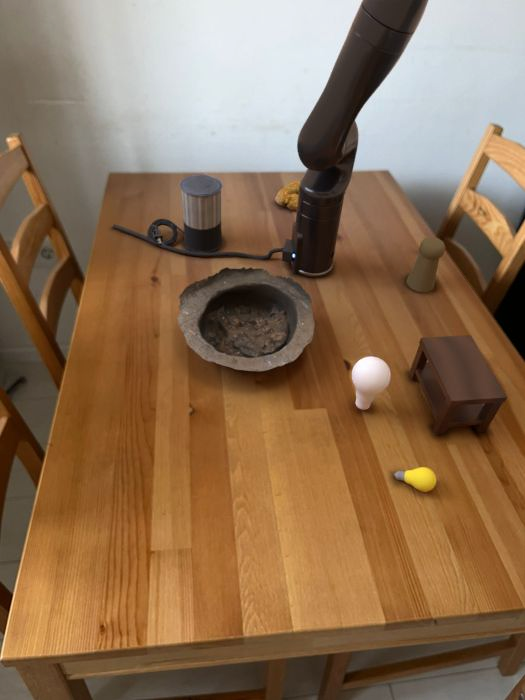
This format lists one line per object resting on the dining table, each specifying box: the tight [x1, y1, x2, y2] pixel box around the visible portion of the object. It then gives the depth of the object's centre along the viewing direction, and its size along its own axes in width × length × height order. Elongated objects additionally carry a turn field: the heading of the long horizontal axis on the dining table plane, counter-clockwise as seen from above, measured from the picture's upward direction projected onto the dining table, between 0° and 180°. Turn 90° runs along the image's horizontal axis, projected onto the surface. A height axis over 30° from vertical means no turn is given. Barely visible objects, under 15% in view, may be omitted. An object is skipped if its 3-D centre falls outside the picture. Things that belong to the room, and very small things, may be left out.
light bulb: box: [394, 466, 437, 493], centre depth 76 cm, size 3×6×4 cm, turn 70°
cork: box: [406, 236, 446, 293], centre depth 109 cm, size 6×6×11 cm
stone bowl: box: [177, 266, 316, 372], centre depth 94 cm, size 25×25×9 cm
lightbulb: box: [351, 356, 392, 411], centre depth 84 cm, size 6×6×11 cm
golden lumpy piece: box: [274, 180, 301, 212], centre depth 134 cm, size 10×11×5 cm
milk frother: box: [146, 173, 224, 253], centre depth 115 cm, size 14×16×15 cm
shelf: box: [408, 334, 508, 436], centre depth 86 cm, size 9×14×9 cm, turn 7°
